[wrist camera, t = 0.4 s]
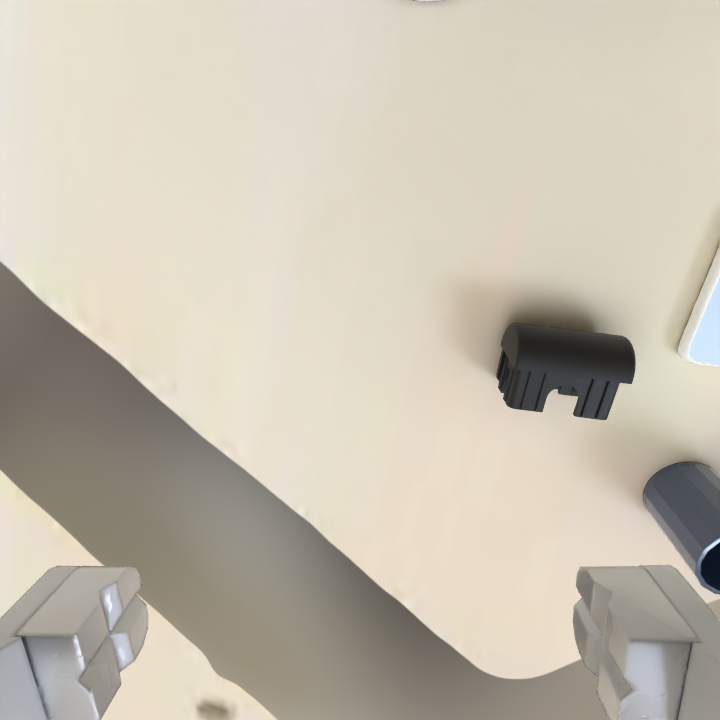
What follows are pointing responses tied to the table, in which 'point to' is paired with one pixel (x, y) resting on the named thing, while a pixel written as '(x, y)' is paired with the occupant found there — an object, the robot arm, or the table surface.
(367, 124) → the table surface
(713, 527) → the pen cup
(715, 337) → the calculator
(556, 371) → the end cap
